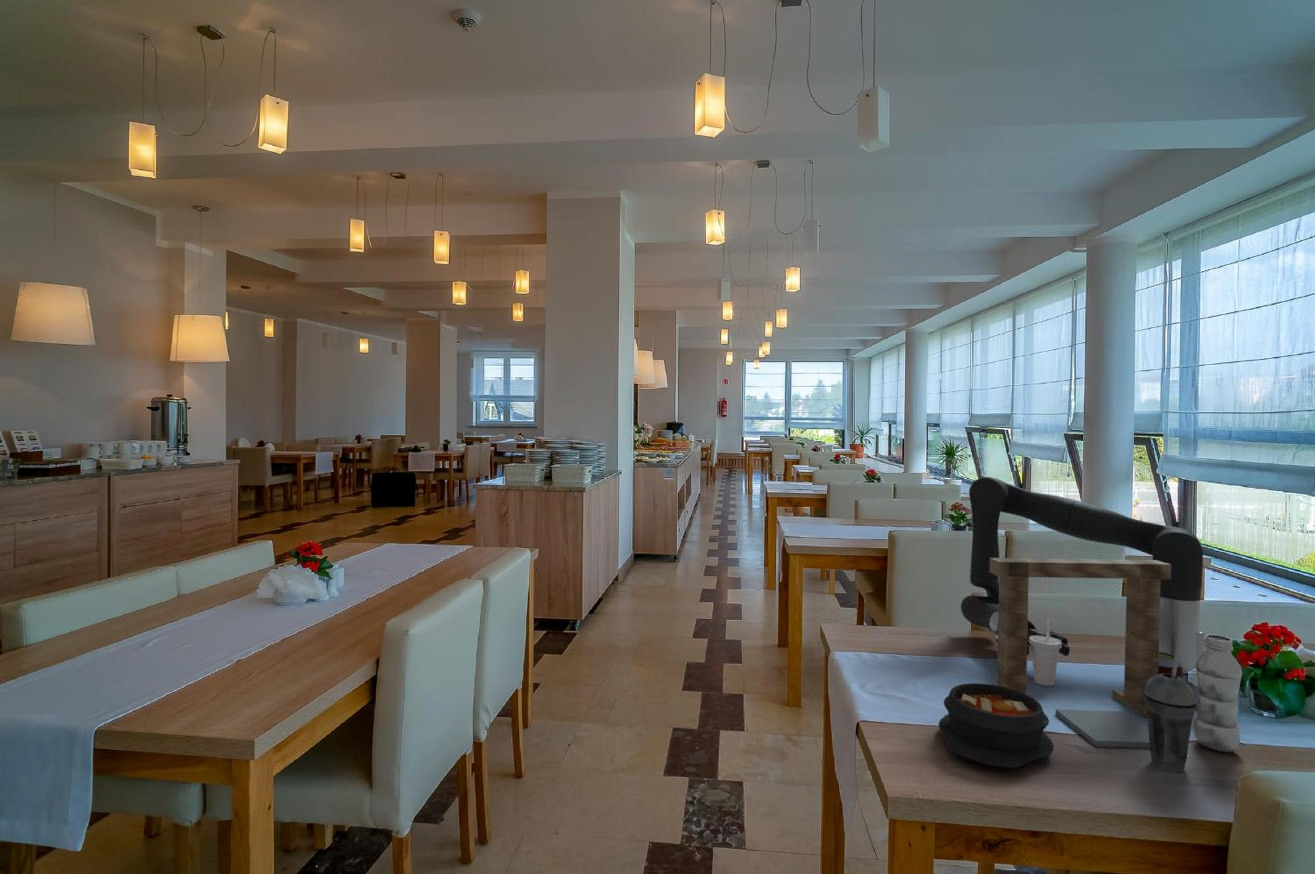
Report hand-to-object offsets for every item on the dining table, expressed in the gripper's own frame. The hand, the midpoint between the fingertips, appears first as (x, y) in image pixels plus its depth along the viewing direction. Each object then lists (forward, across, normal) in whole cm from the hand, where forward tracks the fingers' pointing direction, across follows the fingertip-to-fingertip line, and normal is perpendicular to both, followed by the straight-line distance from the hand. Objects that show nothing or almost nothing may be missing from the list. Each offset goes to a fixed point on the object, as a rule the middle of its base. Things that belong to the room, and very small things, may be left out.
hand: (1047, 651), depth 147 cm
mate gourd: (+3, +23, +8) cm, 24 cm away
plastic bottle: (+28, +15, +8) cm, 33 cm away
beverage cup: (+34, +2, +8) cm, 35 cm away
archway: (+11, 0, +8) cm, 13 cm away
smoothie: (-1, 0, +8) cm, 8 cm away
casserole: (+29, -24, +8) cm, 38 cm away
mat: (+22, 0, +8) cm, 23 cm away
